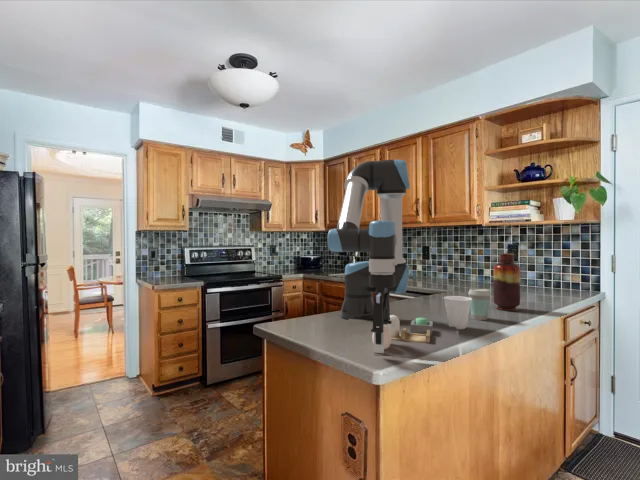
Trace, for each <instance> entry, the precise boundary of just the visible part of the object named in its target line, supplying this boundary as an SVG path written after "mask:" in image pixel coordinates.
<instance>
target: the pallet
mask: <svg viewBox="0 0 640 480" xmlns="http://www.w3.org/2000/svg"><path fill="white" fill-rule="evenodd" d="M430 340H431V335H430V330H427V333H426V334H416V333H410V332H408V328H407V327H403V329H402V331H400V337H398V338H391V341H403V342H412V343H422V344H423V343H424V344H430V342H431V341H430Z"/></svg>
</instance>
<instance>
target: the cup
mask: <svg viewBox="0 0 640 480" xmlns="http://www.w3.org/2000/svg"><path fill="white" fill-rule="evenodd" d="M443 299H444V300H443V301H444V305H445V311H446V316H447V324H448V327H450V328H455V330H465V329H466V328H467V327H468V321H469V316H470V311H471V308H470V305H471V300H472V299H471V298H469V297H468V296H462V295H461V296H459V295H447V296H444V297H443Z"/></svg>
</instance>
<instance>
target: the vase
mask: <svg viewBox="0 0 640 480" xmlns="http://www.w3.org/2000/svg"><path fill="white" fill-rule="evenodd" d="M493 304H495V305H496V306H495V309H496V310H497V311H503V312H517V311H518V308H517V307H518V306H520V305H521V267H520V265H519V264H517V263H515V254H514V253H500V254H499V262H497V263H496V264H494V265H493Z"/></svg>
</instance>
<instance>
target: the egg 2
mask: <svg viewBox="0 0 640 480" xmlns="http://www.w3.org/2000/svg"><path fill="white" fill-rule="evenodd" d="M390 321H392V323H391V324H389V331H390V334H391V338H398V337H400V332H401V331H400V330H401V328H400V319H399V316H397V315H395V314H390Z"/></svg>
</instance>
